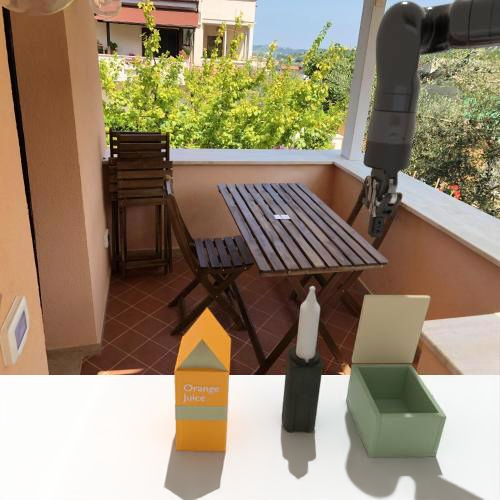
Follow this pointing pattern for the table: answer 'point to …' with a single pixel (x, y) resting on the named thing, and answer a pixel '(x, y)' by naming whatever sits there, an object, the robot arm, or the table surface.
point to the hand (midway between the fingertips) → (374, 235)
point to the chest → (394, 411)
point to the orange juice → (202, 386)
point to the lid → (390, 328)
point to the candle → (303, 372)
